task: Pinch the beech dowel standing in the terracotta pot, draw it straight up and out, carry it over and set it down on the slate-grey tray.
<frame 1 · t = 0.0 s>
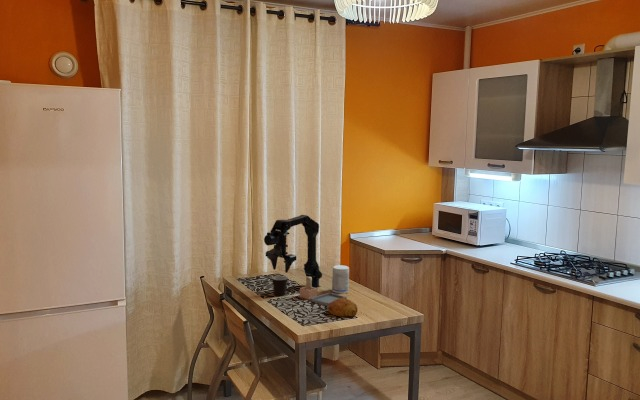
hand: (280, 271, 279), 15 cm above the table, fingers open, 9 cm apart
tray: (328, 301, 275), on the table
croissant: (341, 313, 258), on the table
supplement tub: (340, 292, 294), on the table
dowel: (308, 296, 281), point 1 cm above the table, touching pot
coffee mug: (280, 295, 285), on the table
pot: (308, 297, 281), on the table
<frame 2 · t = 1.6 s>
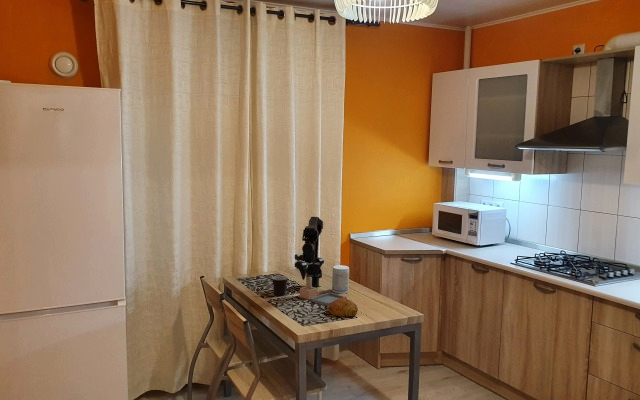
hand: (309, 278, 280), 11 cm above the table, fingers open, 9 cm apart
nothing on the table moved.
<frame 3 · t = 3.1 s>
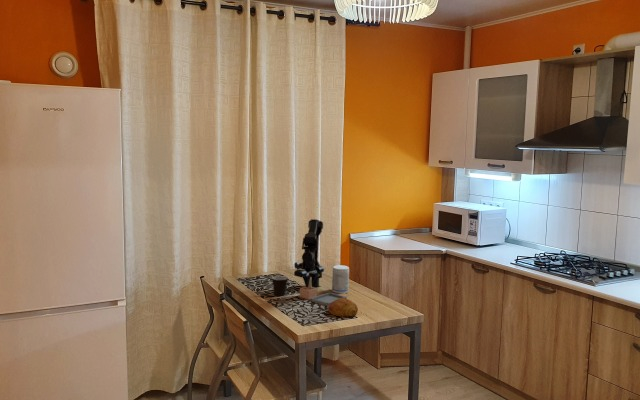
hand: (308, 286, 280), 7 cm above the table, fingers closed on dowel, 3 cm apart
dowel: (308, 296, 281), point 1 cm above the table, touching gripper, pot
everything else where it was.
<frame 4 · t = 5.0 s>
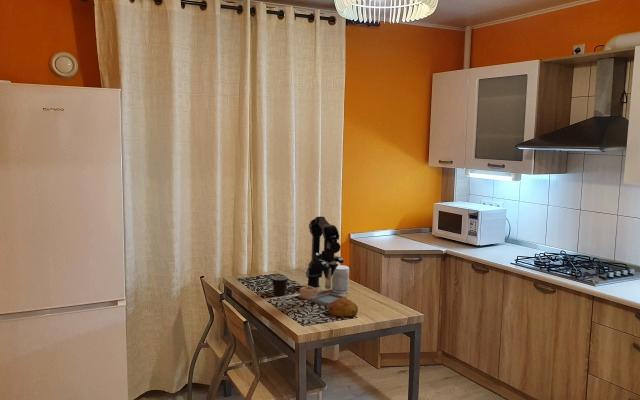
hand: (328, 277, 274), 13 cm above the table, fingers closed on dowel, 3 cm apart
dowel: (327, 288, 275), point 7 cm above the table, touching gripper
everything else where it was.
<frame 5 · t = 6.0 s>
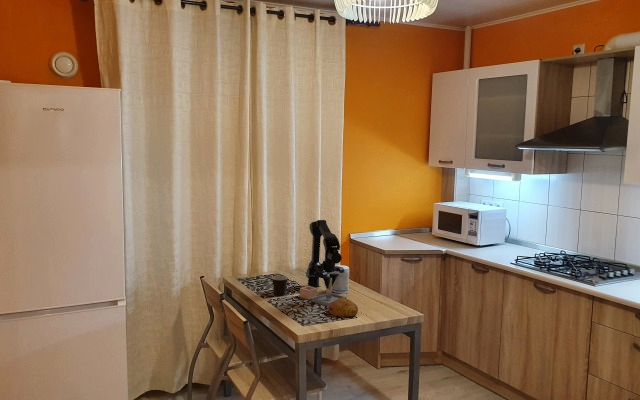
hand: (329, 287, 275), 8 cm above the table, fingers closed on dowel, 3 cm apart
dowel: (328, 298, 275), point 2 cm above the table, touching gripper
everything else where it was.
when the fingers open (7 cm above the table, at t = 6.7 s): dowel stays where it is, resting on tray.
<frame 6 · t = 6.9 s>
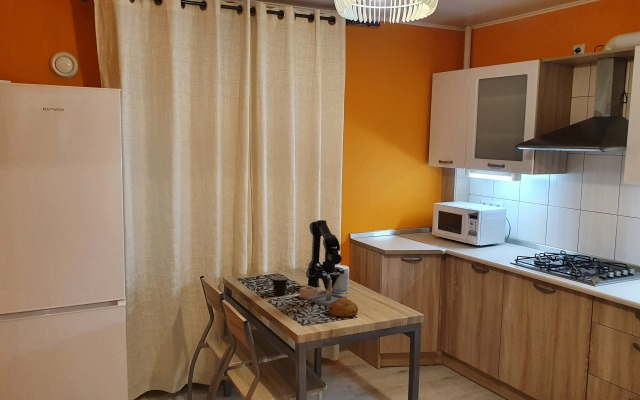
hand: (329, 288, 275), 7 cm above the table, fingers open, 5 cm apart
dowel: (328, 299, 275), point 1 cm above the table, touching tray
everything else where it was.
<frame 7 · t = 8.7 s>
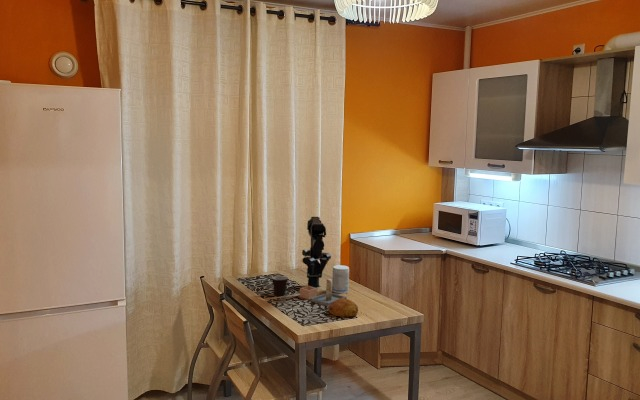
hand: (316, 273, 285), 13 cm above the table, fingers open, 9 cm apart
nothing on the table moved.
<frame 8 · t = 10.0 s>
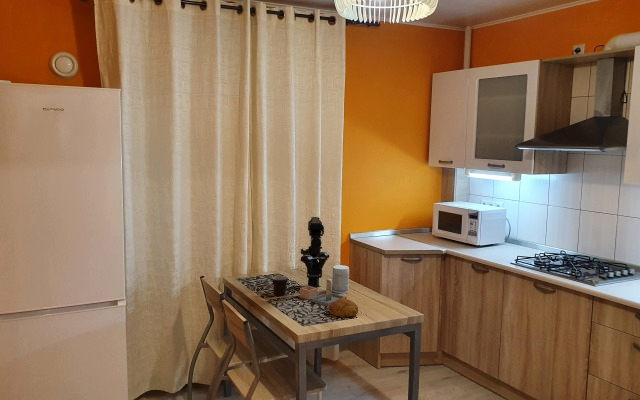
hand: (314, 272, 286), 13 cm above the table, fingers open, 9 cm apart
nothing on the table moved.
at the end: dowel inside the target area on the tray (0.0 cm from its centre), point 1.0 cm above the tray's base; dowel touching tray; the gripper is holding nothing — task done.
